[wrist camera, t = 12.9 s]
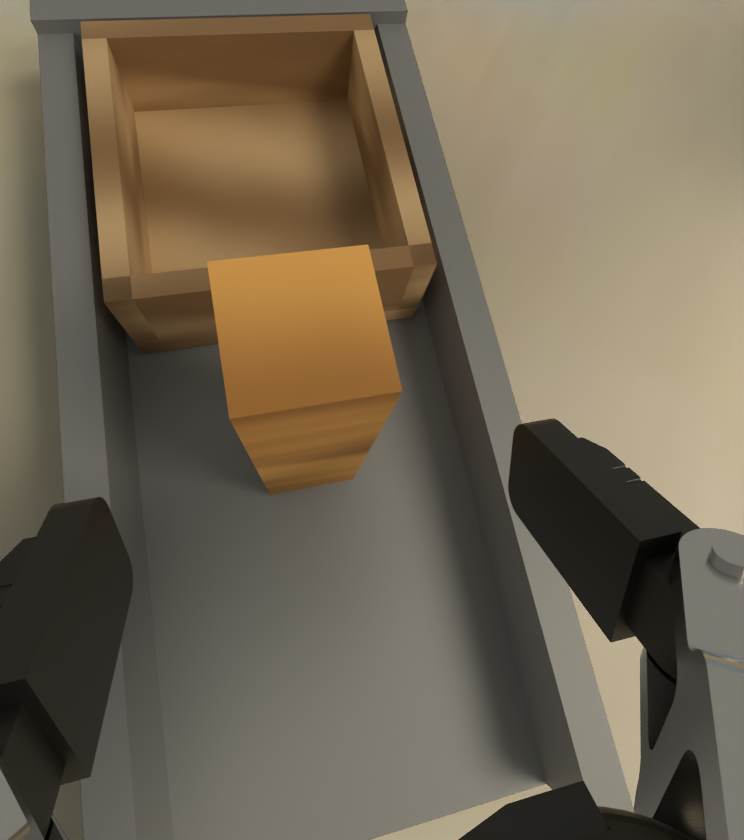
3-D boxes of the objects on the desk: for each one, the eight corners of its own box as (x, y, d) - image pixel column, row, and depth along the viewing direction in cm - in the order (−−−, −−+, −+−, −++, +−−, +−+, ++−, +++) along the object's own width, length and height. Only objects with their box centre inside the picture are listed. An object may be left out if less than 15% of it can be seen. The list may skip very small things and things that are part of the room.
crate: (118, 113, 21) (-29, -240, 12) (359, 100, 23) (396, -217, 14) (160, 515, 17) (-16, 459, 8) (449, 460, 19) (589, 360, 10)
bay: (82, 103, 23) (29, -5, 18) (384, 87, 25) (401, -12, 21) (145, 892, 15) (83, 1021, 11) (564, 762, 18) (647, 825, 13)
